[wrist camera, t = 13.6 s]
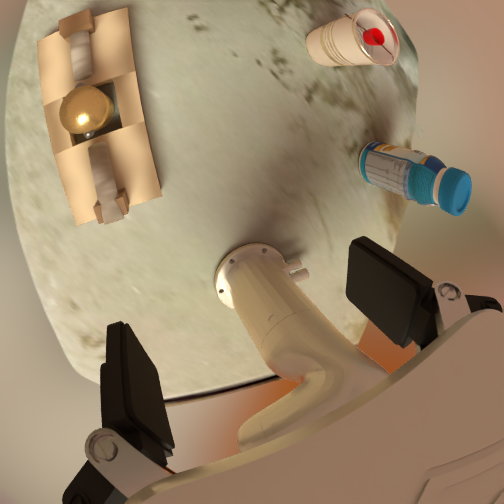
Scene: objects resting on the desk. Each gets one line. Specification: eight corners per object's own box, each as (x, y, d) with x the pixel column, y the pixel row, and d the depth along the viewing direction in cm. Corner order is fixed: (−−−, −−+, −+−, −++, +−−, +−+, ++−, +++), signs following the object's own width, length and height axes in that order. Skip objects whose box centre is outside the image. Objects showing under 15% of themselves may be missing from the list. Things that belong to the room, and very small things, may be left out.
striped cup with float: (289, 51, 31) (342, 35, 21) (307, 13, 28) (359, -7, 18) (338, 82, 35) (395, 81, 26) (353, 46, 33) (407, 39, 23)
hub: (109, 83, 25) (100, 72, 18) (118, 128, 28) (110, 129, 21) (73, 97, 23) (54, 90, 17) (83, 142, 27) (66, 147, 20)
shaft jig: (128, 14, 20) (126, -11, 14) (161, 193, 34) (166, 211, 28) (43, 45, 17) (22, 30, 11) (81, 221, 31) (68, 245, 25)
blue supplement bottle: (349, 164, 43) (446, 200, 27) (372, 130, 42) (468, 154, 25) (370, 191, 48) (456, 233, 31) (391, 160, 46) (477, 191, 30)
